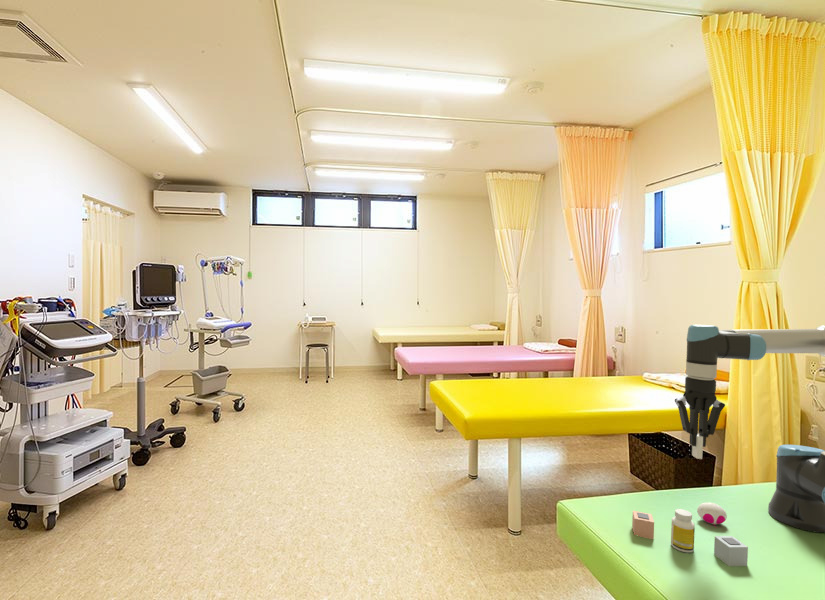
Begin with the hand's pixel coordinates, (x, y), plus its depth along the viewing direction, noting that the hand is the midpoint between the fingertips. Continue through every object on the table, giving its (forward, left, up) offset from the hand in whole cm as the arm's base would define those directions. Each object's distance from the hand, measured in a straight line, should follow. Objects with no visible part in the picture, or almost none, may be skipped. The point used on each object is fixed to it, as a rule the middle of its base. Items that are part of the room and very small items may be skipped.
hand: (697, 457), depth 126 cm
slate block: (-2, +13, -22) cm, 26 cm away
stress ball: (-8, -6, -23) cm, 25 cm away
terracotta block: (+16, +3, -22) cm, 27 cm away
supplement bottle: (+8, +9, -23) cm, 26 cm away
